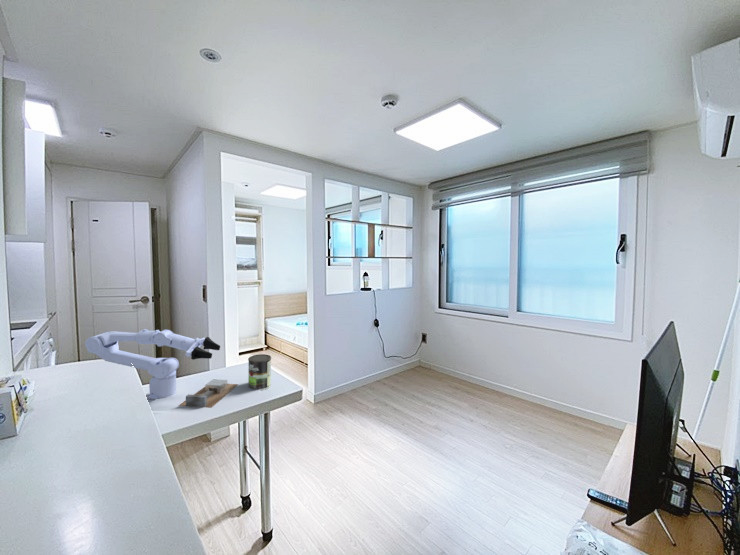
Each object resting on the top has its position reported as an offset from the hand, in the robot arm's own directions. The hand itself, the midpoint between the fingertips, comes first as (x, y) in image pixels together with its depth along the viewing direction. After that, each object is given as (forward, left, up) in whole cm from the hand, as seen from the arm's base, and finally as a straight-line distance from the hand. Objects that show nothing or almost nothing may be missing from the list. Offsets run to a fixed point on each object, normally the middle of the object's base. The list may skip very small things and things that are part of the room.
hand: (215, 352), depth 133 cm
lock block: (-2, +3, -19) cm, 19 cm away
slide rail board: (-2, -1, -20) cm, 20 cm away
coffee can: (+15, +11, -20) cm, 27 cm away
